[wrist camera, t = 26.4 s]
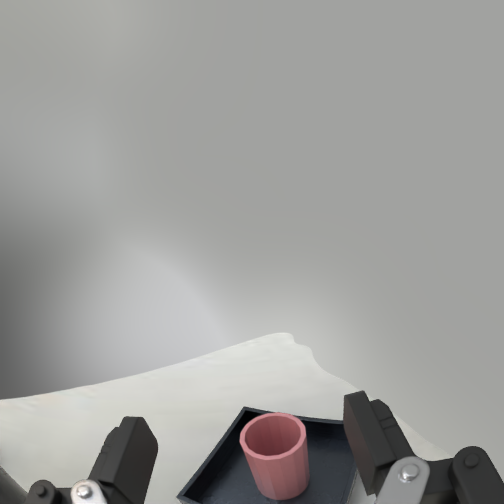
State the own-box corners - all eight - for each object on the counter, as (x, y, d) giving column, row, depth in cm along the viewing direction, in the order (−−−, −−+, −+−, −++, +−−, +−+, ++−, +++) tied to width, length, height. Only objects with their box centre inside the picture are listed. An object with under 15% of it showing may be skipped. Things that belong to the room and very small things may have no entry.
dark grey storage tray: (329, 551, 15) (331, 543, 14) (188, 510, 23) (175, 496, 22) (364, 440, 30) (367, 421, 29) (249, 424, 38) (243, 406, 37)
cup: (299, 505, 22) (292, 465, 20) (247, 492, 25) (228, 450, 23) (316, 464, 28) (313, 416, 25) (268, 456, 30) (256, 408, 28)
